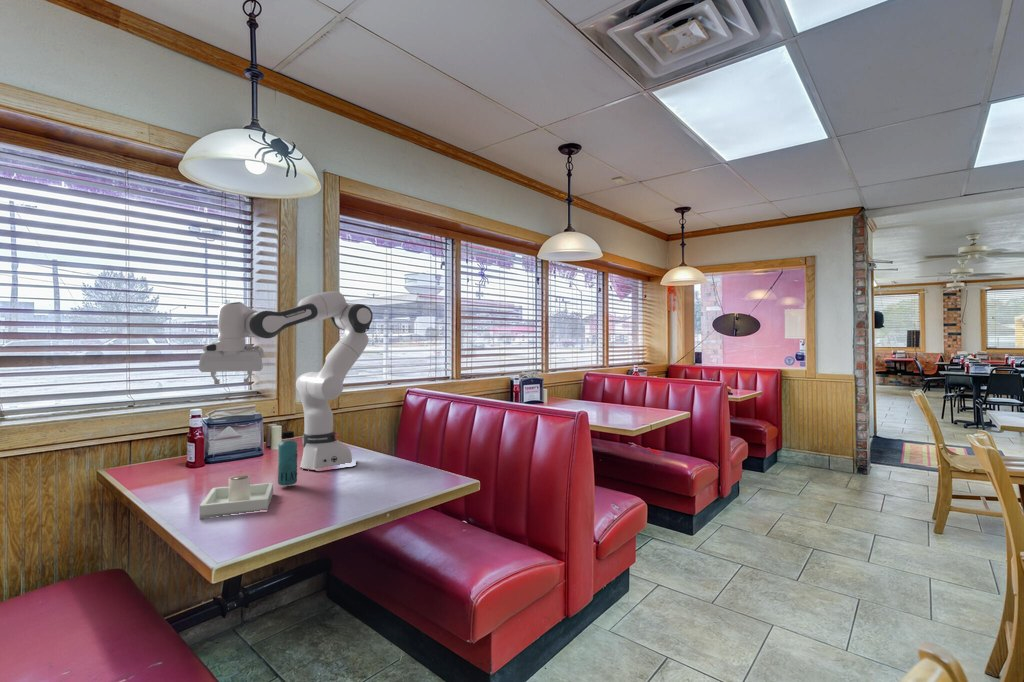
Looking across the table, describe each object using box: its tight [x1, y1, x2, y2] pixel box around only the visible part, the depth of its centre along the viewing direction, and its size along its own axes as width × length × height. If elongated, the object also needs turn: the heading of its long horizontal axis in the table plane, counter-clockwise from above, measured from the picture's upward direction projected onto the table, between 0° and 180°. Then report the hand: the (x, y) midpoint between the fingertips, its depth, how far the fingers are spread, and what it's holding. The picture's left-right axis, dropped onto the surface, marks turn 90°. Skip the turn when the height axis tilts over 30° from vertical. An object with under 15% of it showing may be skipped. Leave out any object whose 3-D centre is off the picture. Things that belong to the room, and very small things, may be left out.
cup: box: [227, 474, 251, 502], centre depth 156 cm, size 6×6×8 cm
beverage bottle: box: [277, 430, 299, 487], centre depth 175 cm, size 6×7×20 cm
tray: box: [199, 482, 274, 520], centre depth 156 cm, size 18×18×4 cm
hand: (231, 383), depth 179 cm, fingers open, 8 cm apart
